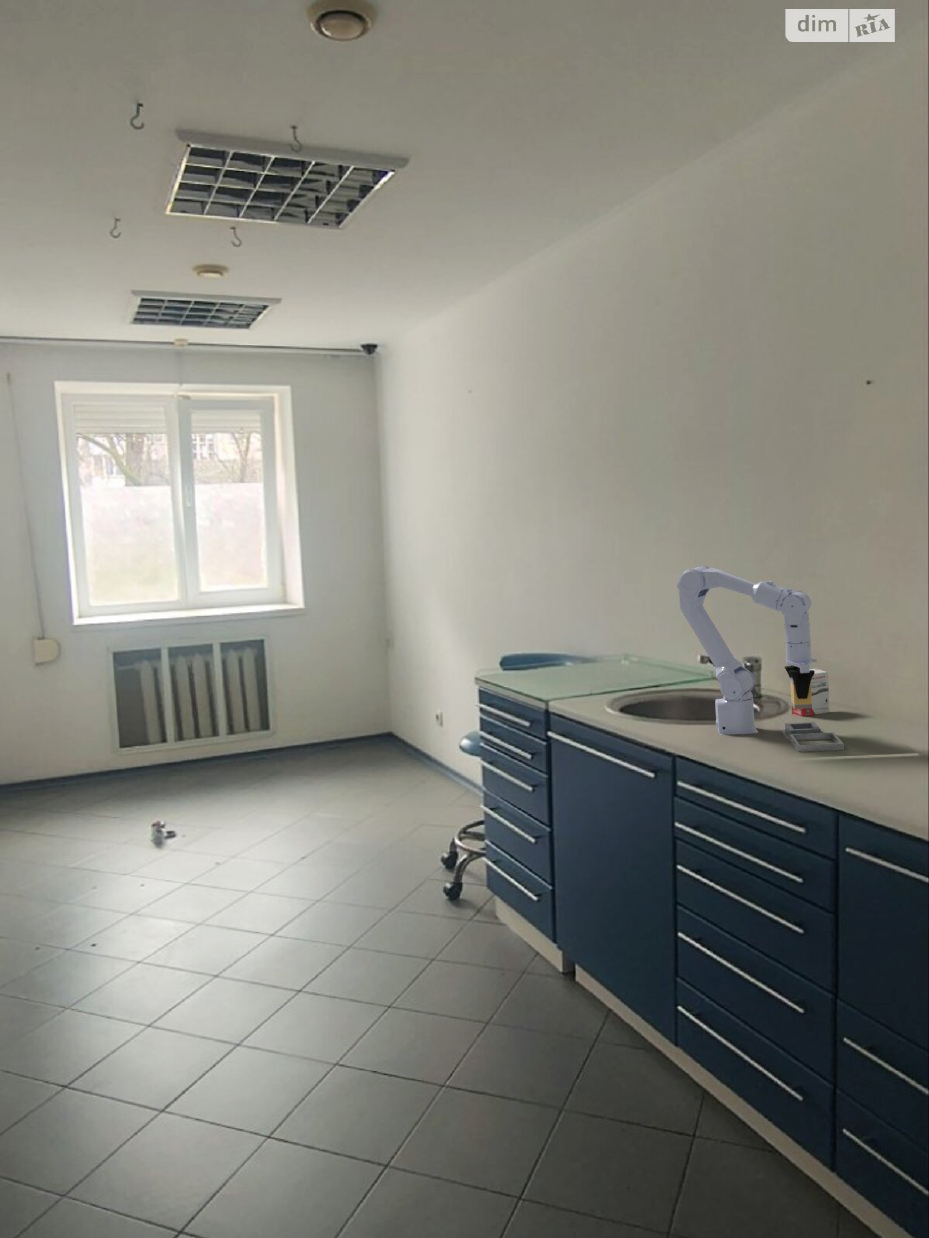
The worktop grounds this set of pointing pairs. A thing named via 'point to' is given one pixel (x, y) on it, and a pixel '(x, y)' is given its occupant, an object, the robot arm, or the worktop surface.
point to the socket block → (800, 728)
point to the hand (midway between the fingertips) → (800, 696)
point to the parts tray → (816, 747)
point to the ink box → (817, 695)
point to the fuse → (800, 702)
